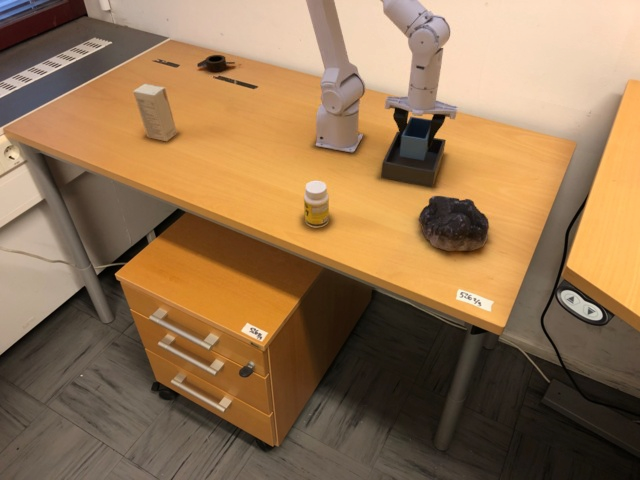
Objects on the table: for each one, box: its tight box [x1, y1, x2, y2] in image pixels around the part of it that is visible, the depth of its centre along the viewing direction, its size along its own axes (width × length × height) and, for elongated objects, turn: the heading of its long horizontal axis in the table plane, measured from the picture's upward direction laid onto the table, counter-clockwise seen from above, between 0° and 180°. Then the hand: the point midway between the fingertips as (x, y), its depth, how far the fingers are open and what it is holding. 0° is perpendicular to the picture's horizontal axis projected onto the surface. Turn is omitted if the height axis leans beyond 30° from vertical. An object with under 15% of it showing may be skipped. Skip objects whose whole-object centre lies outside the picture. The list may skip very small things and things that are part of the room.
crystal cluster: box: [418, 195, 490, 252], centre depth 96 cm, size 13×14×10 cm
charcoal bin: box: [381, 131, 447, 188], centre depth 114 cm, size 11×13×4 cm
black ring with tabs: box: [197, 54, 236, 74], centre depth 153 cm, size 8×10×3 cm
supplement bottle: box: [303, 180, 330, 229], centre depth 99 cm, size 5×5×8 cm
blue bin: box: [400, 116, 432, 161], centre depth 110 cm, size 8×5×5 cm, turn 160°
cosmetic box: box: [132, 83, 178, 142], centre depth 122 cm, size 6×4×12 cm
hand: (416, 142), depth 111 cm, fingers closed on blue bin, 5 cm apart
